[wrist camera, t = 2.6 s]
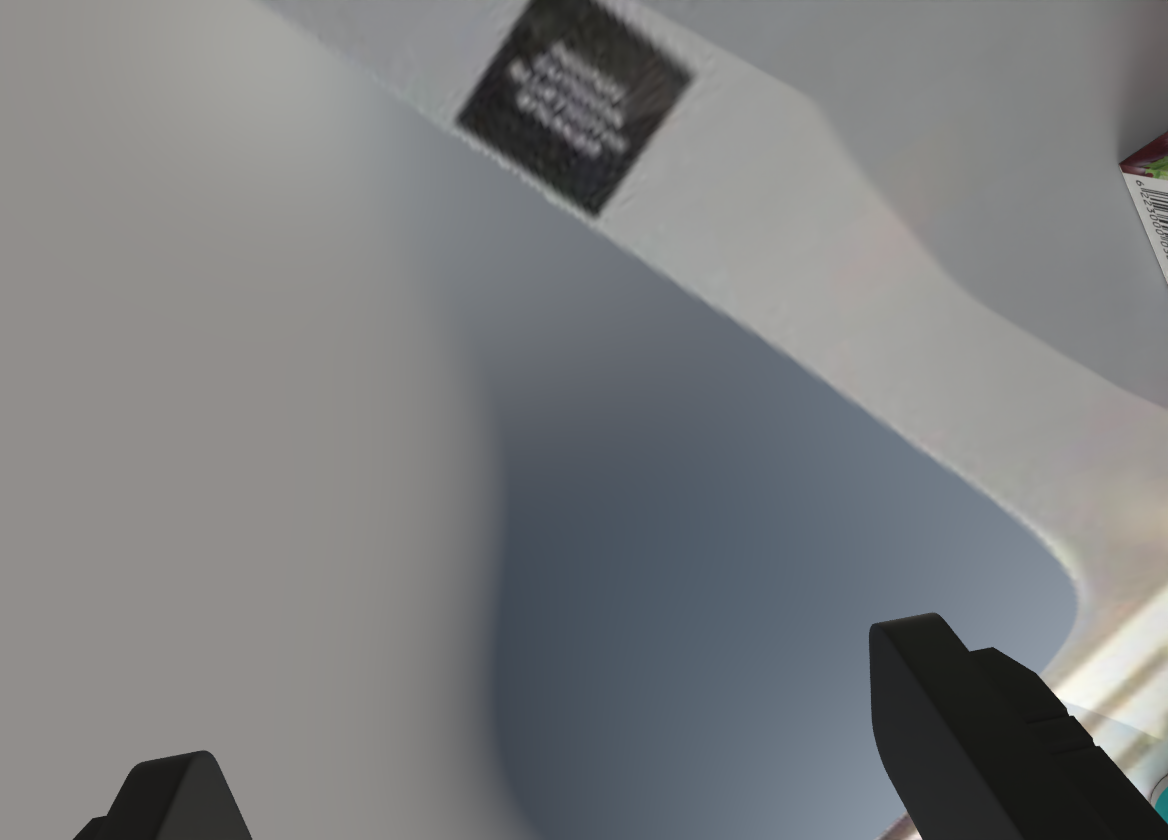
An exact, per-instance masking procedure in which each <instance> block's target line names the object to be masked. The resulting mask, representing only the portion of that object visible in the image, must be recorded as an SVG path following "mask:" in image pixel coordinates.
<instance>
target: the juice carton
mask: <svg viewBox="0 0 1168 840" xmlns="http://www.w3.org/2000/svg"><path fill="white" fill-rule="evenodd" d="M1119 167H1120V169H1121V172H1122V174H1123V177H1124V179H1125V182H1126V184H1127V186H1128V189H1129V191H1130V194H1131V196H1132V199H1133V201H1134V203H1135V206H1136V208H1137V211H1138V213H1139V216H1140V218H1141V220H1142V223H1143V225H1144V228H1145V230H1146V233H1147V235H1148V237H1149V240H1150V242H1151V245H1152V247H1153V250H1154V252H1155V254H1156V257H1157V259H1158V262H1159V264H1160V267H1161V269H1162V271H1163V274H1164V276H1165V279H1166V281H1167V284H1168V131H1167V132H1166V133H1164V134H1163V135H1161V136H1160V137H1158V138H1157V139H1155V140H1154V141H1152V142H1151V143H1149V144H1148V145H1146V146H1145V147H1143V148H1142V149H1141V150H1139V151H1138V152H1136V153H1135V154H1133V155H1132V156H1130V157H1129V158H1127V159H1126V160H1124V161H1123V162H1121V163H1120V164H1119Z"/></svg>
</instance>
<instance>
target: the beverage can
mask: <svg viewBox="0 0 1168 840" xmlns="http://www.w3.org/2000/svg"><path fill="white" fill-rule="evenodd" d="M1151 805H1152V807H1153V808H1154V809H1155V810H1156V811H1157V812H1158V813H1159V815H1160V816H1161V817H1162V818H1163V819H1164V820H1165V821H1166V823H1167V824H1168V775H1167V776H1166V777H1164V778H1163V779H1162V780H1161V781H1160V782H1159V783H1158V785H1157V786H1156V787H1155V789H1154V791H1153V794H1152V798H1151Z"/></svg>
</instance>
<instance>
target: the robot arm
mask: <svg viewBox="0 0 1168 840" xmlns="http://www.w3.org/2000/svg"><path fill="white" fill-rule="evenodd" d="M869 652H870V680H871V710H872V725H873V732H874V736H875V740H876V745H877V747H878V751H879V754H880V757H881V760H882V762H883V765H884V768H885V770H886V772H887V774H888V776H889V778H890V780H891V781H892V783H893V785H894V787H895V789H896V791H897V793H898V795H899V797H900V798H901V800H902V802H903V804H904V806H905V808H906V809H907V811H908V813H909V815H910V817H911V819H912V821H913V822H914V824H915V826H916V828H917V830H918V832H919V834H920V835H921V837H922V839H923V840H1168V824H1167V823H1166V821H1165V820H1164V819H1163V818H1162V817H1161V816H1160V815H1159V813H1158V812H1157V811H1156V810H1155V809H1154V808H1153V807H1152V805H1151V804H1150V803H1149V802H1148V801H1147V800H1146V799H1145V797H1144V796H1143V795H1142V794H1141V793H1140V792H1139V791H1138V789H1137V788H1136V787H1135V786H1134V785H1133V784H1132V783H1131V781H1130V780H1129V779H1128V778H1127V777H1126V776H1125V775H1124V773H1123V772H1122V771H1121V770H1120V769H1119V768H1118V767H1117V765H1116V764H1115V763H1114V762H1113V761H1112V760H1111V759H1110V757H1109V756H1108V755H1107V754H1106V753H1105V752H1104V750H1103V749H1102V748H1101V747H1100V746H1095V744H1094V742H1093V738H1092V737H1091V736H1090V734H1089V733H1088V732H1087V731H1086V730H1085V729H1084V728H1083V726H1082V725H1081V724H1080V723H1079V722H1078V721H1077V720H1076V718H1075V717H1074V716H1069V714H1068V712H1067V708H1066V707H1065V706H1064V705H1063V704H1062V702H1061V701H1060V700H1059V699H1058V698H1057V697H1056V696H1055V694H1054V693H1053V692H1052V691H1051V690H1050V689H1049V688H1048V686H1047V685H1046V684H1045V683H1044V682H1043V681H1042V679H1041V678H1040V677H1039V676H1038V675H1037V674H1036V673H1035V672H1033V671H1031V670H1030V669H1028V668H1026V667H1025V666H1023V665H1021V664H1020V663H1018V662H1017V661H1015V660H1013V659H1012V658H1010V657H1008V656H1007V655H1005V654H1003V653H1002V652H1000V651H999V650H997V649H995V648H994V647H991V648H986V649H981V650H975V651H970V652H969V651H968V649H967V648H966V647H965V645H964V644H963V643H962V642H961V640H960V639H959V638H958V636H957V635H956V634H955V633H954V631H953V630H952V629H951V628H950V626H949V625H948V624H947V623H946V622H945V620H944V619H943V618H942V617H941V616H940V615H938V614H937V613H927V614H922V615H917V616H911V617H906V618H901V619H896V620H890V621H885V622H880V623H875V624H872V626H871V628H870V632H869ZM73 840H252V838H251V835H250V833H249V831H248V829H247V826H246V824H245V822H244V820H243V817H242V815H241V813H240V811H239V808H238V806H237V804H236V802H235V800H234V797H233V795H232V793H231V791H230V789H229V787H228V784H227V783H226V780H225V778H224V776H223V774H222V771H221V769H220V767H219V765H218V763H217V761H216V759H215V758H214V756H213V755H212V754H211V753H210V752H208V751H197V752H192V753H187V754H181V755H176V756H171V757H166V758H160V759H155V760H150V761H145V762H141V763H139V764H137V765H136V766H135V767H134V768H133V769H132V770H131V771H130V773H129V774H128V776H127V778H126V780H125V782H124V784H123V786H122V787H121V789H120V791H119V793H118V795H117V797H116V799H115V801H114V802H113V804H112V806H111V808H110V810H109V812H108V814H107V816H103V817H97V818H93V819H92V820H91V821H90V822H89V823H88V824H87V825H86V826H85V827H84V828H83V829H82V830H81V831H80V832H79V833H78V834H77V835H76V837H75V838H74V839H73Z"/></svg>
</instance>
